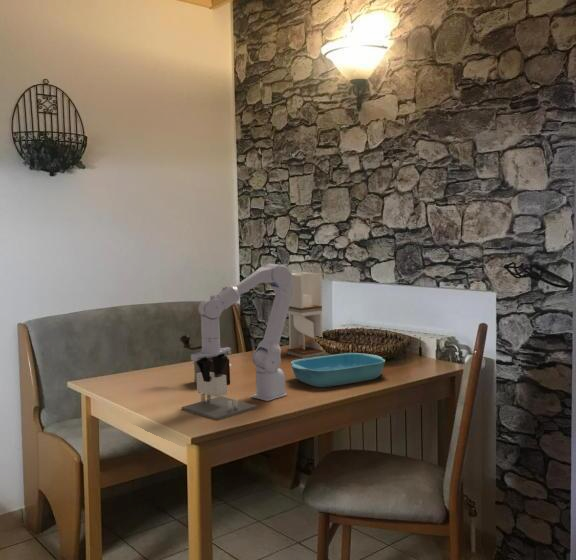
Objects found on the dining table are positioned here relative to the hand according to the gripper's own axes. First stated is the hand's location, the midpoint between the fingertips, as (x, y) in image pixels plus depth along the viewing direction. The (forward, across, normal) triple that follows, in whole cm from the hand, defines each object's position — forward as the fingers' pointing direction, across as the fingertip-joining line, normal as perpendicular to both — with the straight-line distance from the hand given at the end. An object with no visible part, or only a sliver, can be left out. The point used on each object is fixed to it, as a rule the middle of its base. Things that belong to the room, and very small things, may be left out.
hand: (212, 379), depth 202 cm
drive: (+4, 0, 0) cm, 4 cm away
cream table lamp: (+9, -76, -31) cm, 82 cm away
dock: (+8, +1, +4) cm, 9 cm away
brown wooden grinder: (+9, -16, -24) cm, 30 cm away
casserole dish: (+9, -52, +8) cm, 53 cm away
